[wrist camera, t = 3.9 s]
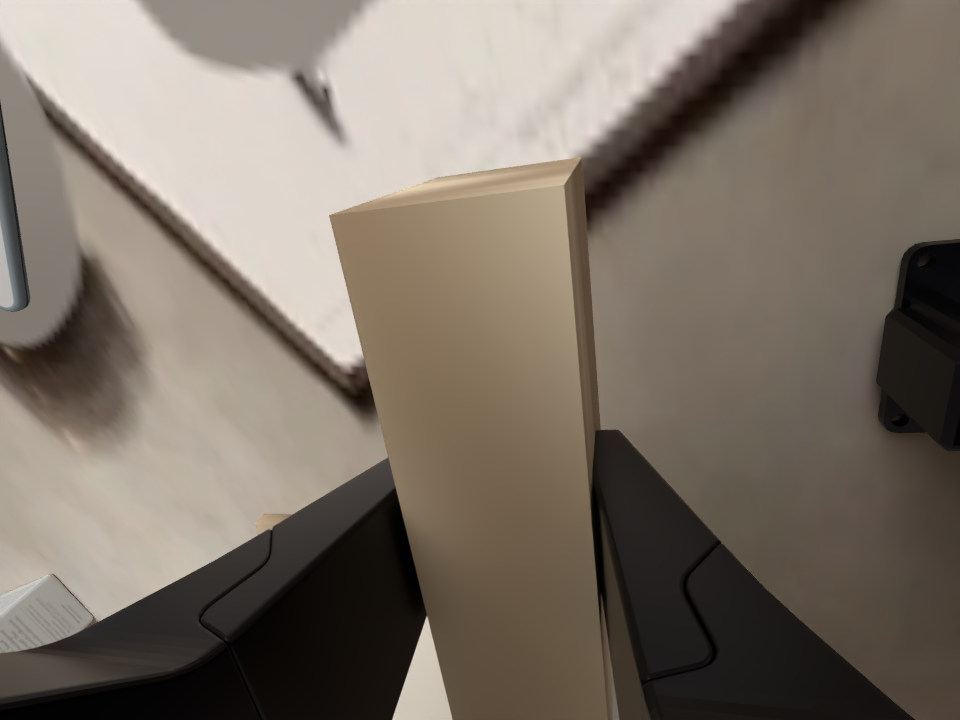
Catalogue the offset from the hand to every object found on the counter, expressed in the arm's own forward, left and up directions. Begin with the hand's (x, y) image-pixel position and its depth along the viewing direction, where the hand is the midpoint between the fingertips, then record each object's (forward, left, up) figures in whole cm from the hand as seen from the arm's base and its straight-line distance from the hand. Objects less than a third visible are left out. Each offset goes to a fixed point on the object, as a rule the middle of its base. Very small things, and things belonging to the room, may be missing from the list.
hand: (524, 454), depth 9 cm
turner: (0, +3, -1) cm, 3 cm away
